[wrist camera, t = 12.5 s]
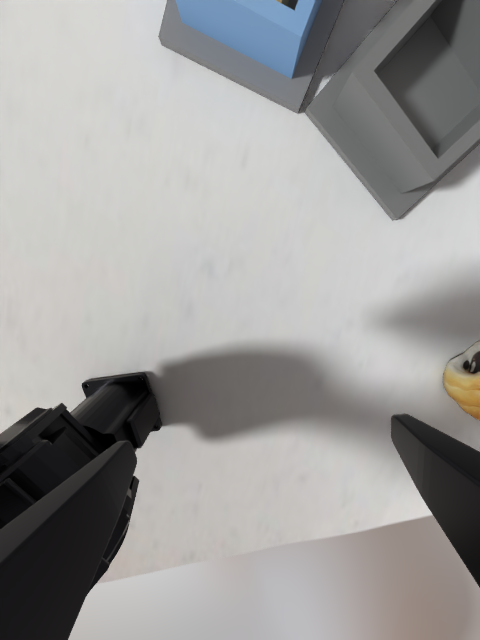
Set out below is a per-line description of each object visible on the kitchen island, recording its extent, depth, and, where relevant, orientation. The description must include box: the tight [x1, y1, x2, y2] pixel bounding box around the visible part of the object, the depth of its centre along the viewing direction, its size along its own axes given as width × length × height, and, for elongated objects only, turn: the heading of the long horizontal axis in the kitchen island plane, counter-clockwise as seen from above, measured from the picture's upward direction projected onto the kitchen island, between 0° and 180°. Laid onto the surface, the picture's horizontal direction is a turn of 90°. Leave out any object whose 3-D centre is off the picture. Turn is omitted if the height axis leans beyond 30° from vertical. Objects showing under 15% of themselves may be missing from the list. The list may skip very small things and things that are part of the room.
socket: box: [305, 0, 480, 220], centre depth 14 cm, size 10×10×4 cm
